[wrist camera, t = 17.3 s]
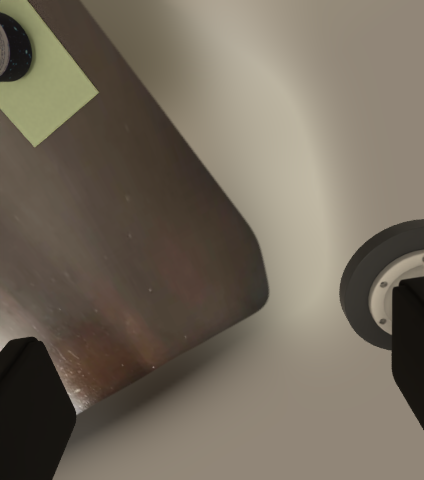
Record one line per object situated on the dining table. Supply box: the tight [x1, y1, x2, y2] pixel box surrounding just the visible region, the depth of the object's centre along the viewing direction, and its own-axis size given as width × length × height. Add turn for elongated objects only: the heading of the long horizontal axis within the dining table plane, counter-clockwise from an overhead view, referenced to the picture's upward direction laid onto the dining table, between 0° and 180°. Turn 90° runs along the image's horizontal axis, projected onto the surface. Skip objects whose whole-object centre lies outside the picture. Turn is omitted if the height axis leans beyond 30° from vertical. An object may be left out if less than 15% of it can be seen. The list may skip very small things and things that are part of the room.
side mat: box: [0, 0, 99, 147], centre depth 34 cm, size 16×9×1 cm, turn 36°
